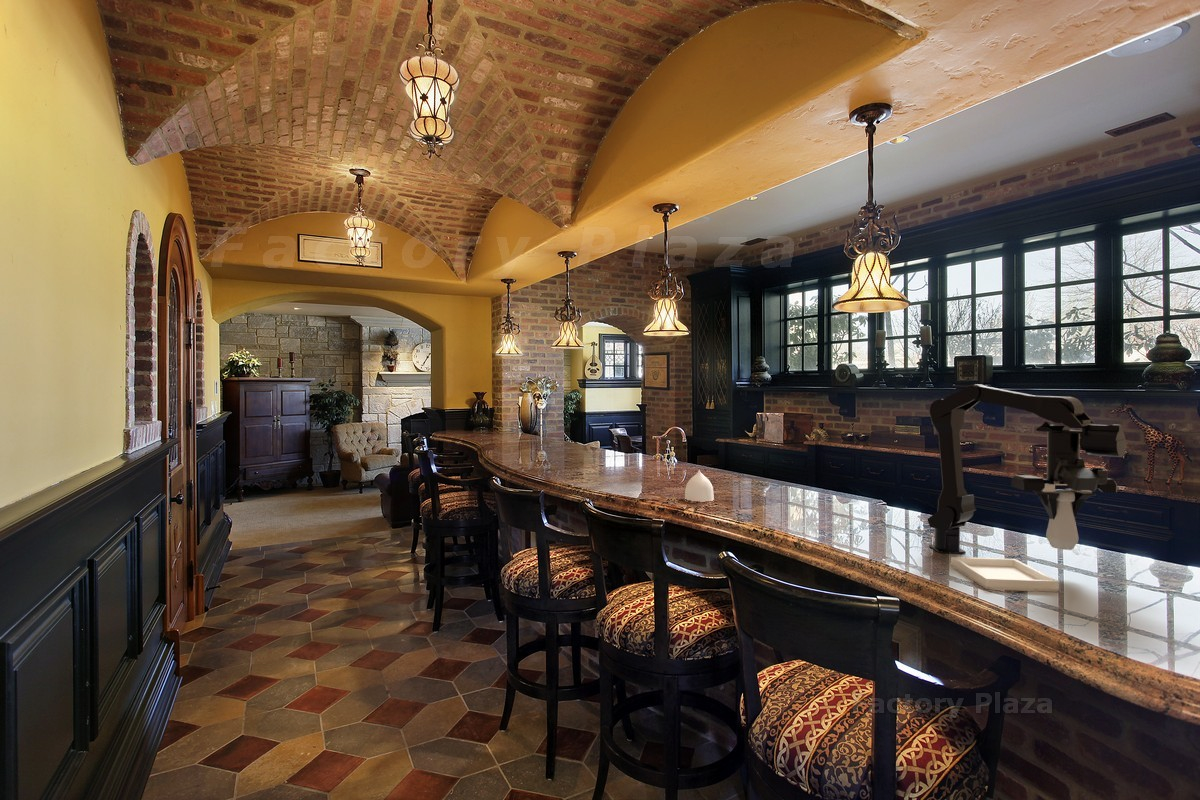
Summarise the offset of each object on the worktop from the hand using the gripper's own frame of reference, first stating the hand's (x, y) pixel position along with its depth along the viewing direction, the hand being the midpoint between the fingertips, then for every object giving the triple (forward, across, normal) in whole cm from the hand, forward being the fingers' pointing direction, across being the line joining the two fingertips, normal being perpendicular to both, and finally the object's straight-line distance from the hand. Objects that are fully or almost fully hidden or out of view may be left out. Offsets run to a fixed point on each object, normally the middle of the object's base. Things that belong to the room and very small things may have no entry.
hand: (1062, 521), depth 131 cm
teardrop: (+13, -78, +80) cm, 112 cm away
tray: (+12, -14, -3) cm, 19 cm away
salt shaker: (+6, 0, 0) cm, 6 cm away
